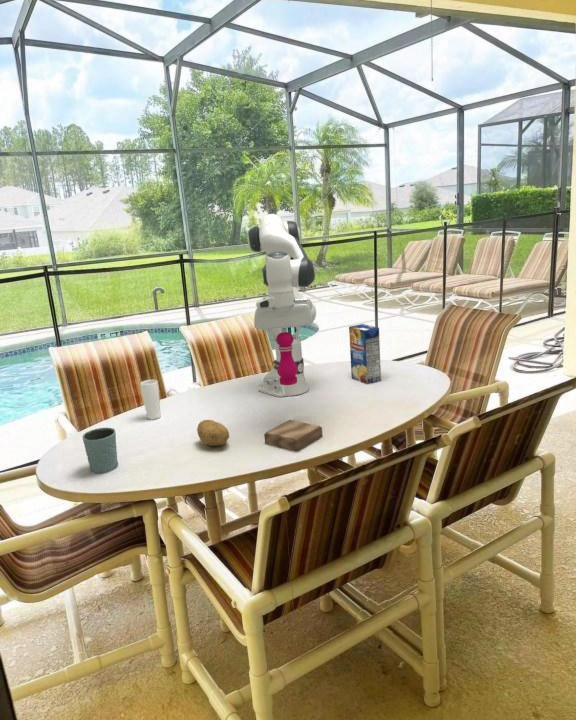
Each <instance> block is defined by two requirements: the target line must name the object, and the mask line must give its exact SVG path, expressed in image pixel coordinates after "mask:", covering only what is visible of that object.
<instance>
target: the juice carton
mask: <svg viewBox="0 0 576 720" xmlns="http://www.w3.org/2000/svg"><path fill="white" fill-rule="evenodd" d="M348 330H349V331H348V333H349V334H348V335H349V351H350V356H349V357H350V370H351V372H350V373H351V379H352V380H354V381H356V382H359V381H360V383H363V384H365V385H370V383H371V384H374V383H378V382H382V376H381V375H382V372H381V345H380V344H381V343H380V327H377V326H373V325H368V324H365V323H361V324H355V325H350V326H348Z"/></svg>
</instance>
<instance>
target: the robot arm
mask: <svg viewBox="0 0 576 720" xmlns="http://www.w3.org/2000/svg"><path fill="white" fill-rule="evenodd" d="M246 236H247V238H246V240H247V241H246V242H247V244H248V247H249V248H250V250H251V251H252V252H253V253H261V252H265V264H264V265H263V267H262V268H261V271H262V278H263V285H265V286H267V288H268V290H267V296H266V297H265V296H264V297H262V298H261V299H258V300H257V301H256V303H255V305H256V309H255V310H254V316H253V317H254V318H253V319H254V320H253V321H254V323H253V324H254V328H255V329H256V330H264V332H266V333H267V334H268V335H269V336H270V338H271V341H272V343H273V345H274V351H275V360H273V361H272V362H271V364H272V365H273V368H272V369H271V370H270V371H269V372H267V373H266V374H265V375H264V377H263V381H262V385H261V386H259V387H258V392H262V393H264V394H268V395H271V396H274V397H277V398H283V397H288V396H289V397H291V396H299V395H302V394H305V393H307V392H308V390H309V387H308V384H307V380H306V375H305V371H304V369H305V364H304V363H305V362H304V357H303V352H302V351H303V349H302V342H301V340H300V339H299V337H298V335H299V332H300V330H301V327H305V326H311V325H312V324H313V323H314V321H315V320H316V317H317V309H316V306H315V305H314V303H313V302H312V300H311V299H308V298H306V297H304V296H303V295H302V294H301V292H300V291H299V290H298V287H299V288H303V287H304V288H305V287H308V288H309V286H310V285H311V284H313V282H314V281H315V279H316V278H315V277H316V269H315V268H316V267H315V266H314V264H313V262H312V260H311V259H310V258H309V256H308V255H307V253H306V251H305V249H304V247H303V245H302V244H301V242H300V239H301V230H300V227H299V225H298V224H297V222H296V221H294V220H286V221H284V220H283V219H282V217H280V216H279V215H278V214H275V213H270V214H266V215H264V216H263V217H262V219H261V221H260V223H259V225H258V226H257V225H255V226H252V227H251V228H250V229H249V230H248V232H247V235H246ZM290 258H292V259H290ZM282 328H286V329H287V328H295V330H296V331H295V332H293V333H292V336H293V343H292V346H293V347H292V348H293V349H292V357H293V360H294V362H295V364H296V366H297V369H298V372H297V374H296V377H297V383H296V384H293V385H281V384H280V380H279V379H280V378H281V377H280V376H279V375H278V372H277V369H278V365H279V363H280V358H281V354H280V351H279V348H278V347H279V345H278V344H277V342H276V338H277V335H278V334H280V333H282Z"/></svg>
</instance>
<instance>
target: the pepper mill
mask: <svg viewBox="0 0 576 720" xmlns="http://www.w3.org/2000/svg"><path fill="white" fill-rule="evenodd" d="M287 330H288V329H287V328H282V333H280V334H278V335H277V338H276V342H277V344H278V345H279V347H278V348H279V351H280V354H281V358H280V363H279V365H278V369H277V372H278V375H279V376H280V377H281V378H280V379H279V380H280V384H281V385H293V384H296V383H297V377H296V374H297V372H298V369H297V366H296V364H295V362H294V360H293V357H292V349H293V348H292V347H293V346H292V343H293V336H292V335H293V333H290V332H289V331H287Z"/></svg>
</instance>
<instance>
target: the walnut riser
mask: <svg viewBox="0 0 576 720" xmlns="http://www.w3.org/2000/svg"><path fill="white" fill-rule="evenodd" d="M263 437H264V444H265V445H270V446H271V447H273V446H274V447H277V448H280V449H285V450H289V451H293V452H297V453H299V452H300V451H302V450H303V449H305V448H307V447H309V446H310V445H312V444H313V443H315V442H317V441H318V440H320V439H321V438H323V427H322V426H321V425H317V424H314V423H313V424H312V423H307V422H303V421H299V420H294V419H289V420H286V421H284V422H283V423H281V424H279V425H277V426H275V427H273V428H272V429H270V430H268V431H266V432H265V433H263Z"/></svg>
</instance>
